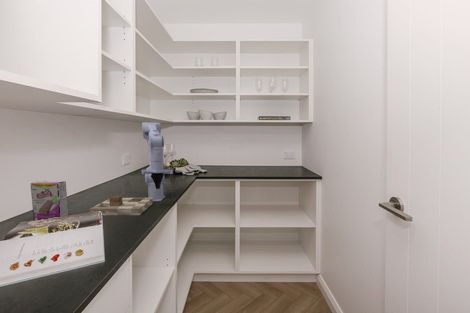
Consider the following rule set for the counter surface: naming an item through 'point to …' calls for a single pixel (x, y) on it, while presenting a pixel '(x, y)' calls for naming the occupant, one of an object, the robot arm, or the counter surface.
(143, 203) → the trap deck
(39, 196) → the candy bar box
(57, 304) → the counter surface
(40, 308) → the counter surface
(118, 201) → the walnut block
